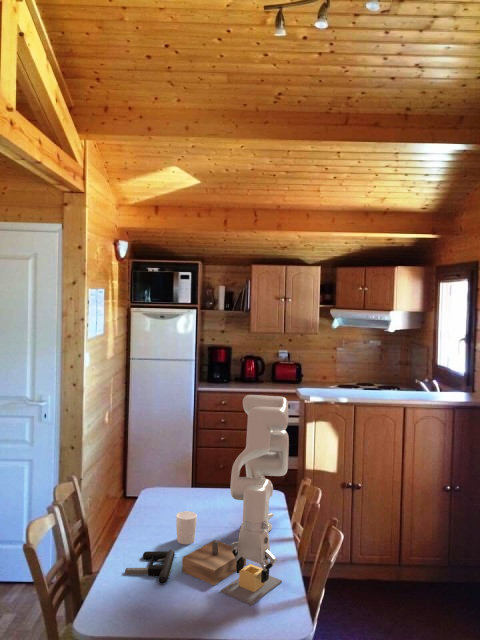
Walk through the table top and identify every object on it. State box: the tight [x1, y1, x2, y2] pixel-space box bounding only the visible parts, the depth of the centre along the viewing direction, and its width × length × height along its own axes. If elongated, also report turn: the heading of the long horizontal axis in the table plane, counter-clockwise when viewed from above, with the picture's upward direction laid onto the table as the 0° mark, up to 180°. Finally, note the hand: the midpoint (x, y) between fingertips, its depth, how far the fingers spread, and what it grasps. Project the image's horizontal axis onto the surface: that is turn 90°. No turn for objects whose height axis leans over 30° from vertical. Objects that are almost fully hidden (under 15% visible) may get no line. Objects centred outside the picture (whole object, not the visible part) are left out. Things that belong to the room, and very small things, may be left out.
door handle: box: [124, 549, 177, 585], centre depth 184 cm, size 3×20×16 cm
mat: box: [219, 575, 283, 606], centre depth 175 cm, size 18×12×1 cm, turn 144°
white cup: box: [175, 510, 198, 545], centre depth 207 cm, size 8×8×10 cm
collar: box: [238, 563, 265, 592], centre depth 175 cm, size 6×6×5 cm
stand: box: [181, 539, 247, 586], centre depth 186 cm, size 18×14×10 cm
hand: (252, 576), depth 175 cm, fingers open, 9 cm apart
